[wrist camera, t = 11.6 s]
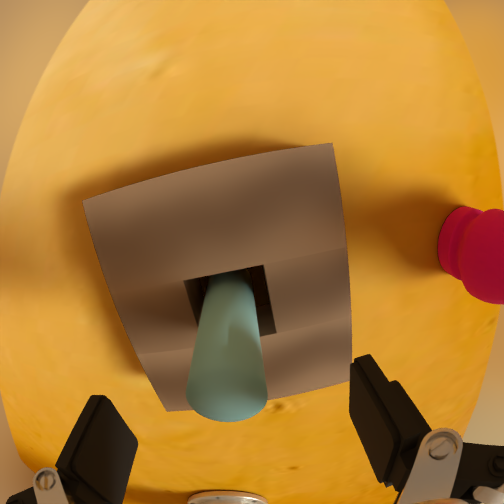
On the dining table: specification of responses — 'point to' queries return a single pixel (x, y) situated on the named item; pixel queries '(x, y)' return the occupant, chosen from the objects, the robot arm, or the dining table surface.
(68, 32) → the dining table surface
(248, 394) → the teal peg
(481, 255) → the pepper mill
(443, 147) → the dining table surface
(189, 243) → the walnut hole block
